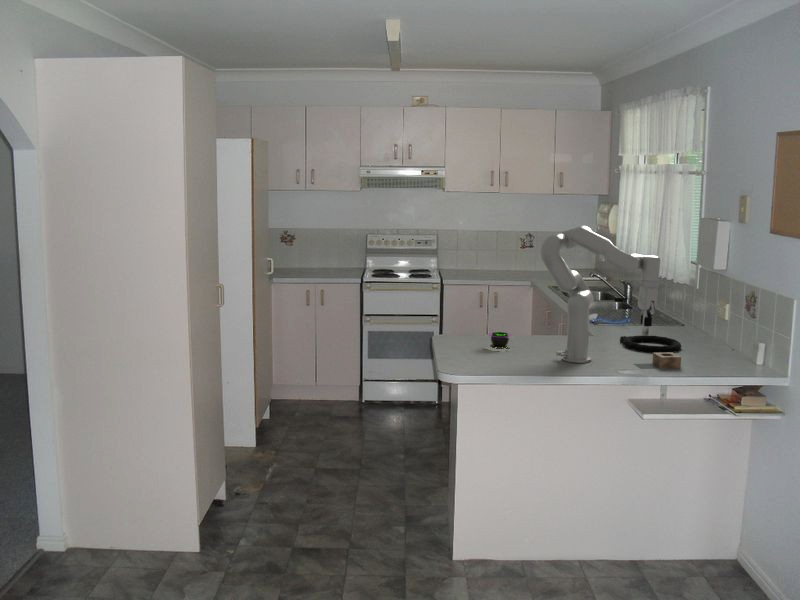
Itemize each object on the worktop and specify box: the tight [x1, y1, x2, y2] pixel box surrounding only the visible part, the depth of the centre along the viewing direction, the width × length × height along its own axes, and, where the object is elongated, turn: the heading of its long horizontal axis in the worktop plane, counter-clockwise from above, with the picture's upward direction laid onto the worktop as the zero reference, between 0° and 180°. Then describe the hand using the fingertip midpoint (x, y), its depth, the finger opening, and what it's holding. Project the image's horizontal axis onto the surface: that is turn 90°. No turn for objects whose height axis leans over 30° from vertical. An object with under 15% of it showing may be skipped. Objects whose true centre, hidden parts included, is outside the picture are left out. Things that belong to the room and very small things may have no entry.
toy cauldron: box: [487, 326, 512, 349], centre depth 382 cm, size 15×15×11 cm
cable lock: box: [619, 334, 682, 354], centre depth 389 cm, size 28×4×30 cm
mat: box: [633, 363, 683, 370], centre depth 349 cm, size 19×9×1 cm, turn 95°
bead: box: [651, 352, 682, 369], centre depth 349 cm, size 9×9×5 cm
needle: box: [641, 309, 650, 336], centre depth 345 cm, size 3×3×14 cm
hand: (645, 324), depth 345 cm, fingers closed on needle, 3 cm apart
